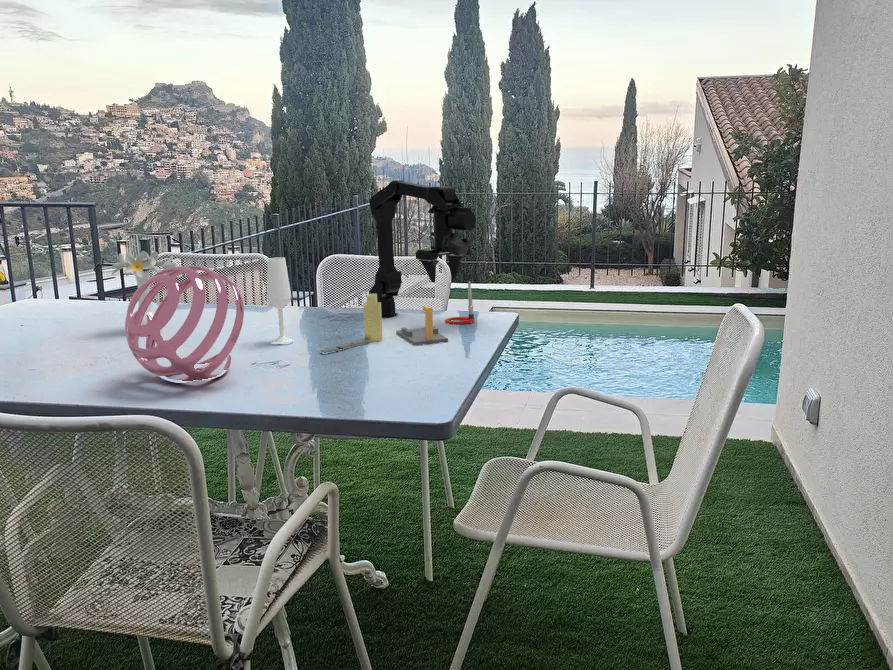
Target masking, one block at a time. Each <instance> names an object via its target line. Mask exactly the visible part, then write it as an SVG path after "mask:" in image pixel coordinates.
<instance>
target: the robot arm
mask: <svg viewBox="0 0 893 670" xmlns="http://www.w3.org/2000/svg"><path fill="white" fill-rule="evenodd" d="M403 196H406V197H411V198H417V199H422V200H424V201H425V202H426V203H427V204H430V205H432V207H431V208H430V209H429V210H428V211H427V213H428V214H433V231H432V232H430V236H431V237H433V245H431V246H430V248H420V249H417V250H416V251H415V260H418V262H420V263H421V265H422V266H423V267H424V269H425V271H426V274H427V275H428V277H429V279H430V281H431V283H436V279H437V277H436V275H437V274H436V273H437V272H436V271H437V265H438V263H439V261H440V260H438V259H439V257H442V256H447V258H448V264H449V269H450V275H451V279H456V278H457V275H458V272H459V269H460V266H461V263H462V262H463V261H464V260H465V259H466V258H468V255H469V256H470V255H471V249H472V247H471V246H472V239H471V238H470V237H464V238H457V233H456V232H455V231H467V232H468V231H469V232H470V231H473V230H474V228H475V226H476V223H477V219H476V216H475V213H474V212H473V211H472V207H471V206H467V207H466V206H464V205H462V203H461V201H460V199H459V197H458V195H457V193H456V190H455V189H454V187H453V186H450V185H449V186H448V185H447V186H445V185H444V186H429V185H423V184H418V183H413V182H410V181H409V182H408V181H405V180H401V179H398V180H392V181H390V182H389V183H388V184H387V185H386V186H384V187H383V188H382V189H380V190H379V191H377V193H375V194H373V195H372V196H371V198H370V199H369V208H370V214H371V216H372V217H373V219H374V221H375V222H376V234H377V235H376V236H377V253H378V269H377V271H376V273H375V276H374V285H372V287H371V288H370V290H369V291H368V294H377V302H381V314H382V318H384V319H385V317H387V318H390V317H393V316H392V315H394V316H396V315H395V314H399V313H398V312H396V302H395V297H398V296H399V291H400V290H401V287H402V284H403V280H402V272H401V270H397V268H396V266H395V257H394V252H395V251H394V236H393V235H394V234H393V233H394V232H393V221H394V220H393V219H394V218H395V216H396V213H397V205H398V204H399V203H400V202H401V201H402V199H403ZM389 316H390V317H389Z"/></svg>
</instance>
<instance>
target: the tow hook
mask: <svg viewBox="0 0 893 670" xmlns="http://www.w3.org/2000/svg"><path fill="white" fill-rule="evenodd" d="M471 285H472V284H471V281H467V300H468V316H453V317H448V318H445V319H444V323H445V322H446V323H449V324H448V325H453V324H457V325H465V324H470V325H472V324H471V323H473V324H474V321H475V315H474V304H473V293H472V291H473V290H472V286H471ZM451 320H453V321H451ZM446 323H445V324H446Z"/></svg>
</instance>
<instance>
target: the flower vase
mask: <svg viewBox="0 0 893 670" xmlns="http://www.w3.org/2000/svg"><path fill="white" fill-rule="evenodd" d="M124 255H125V256H124ZM158 258H159V252H157V251H153V252H152V253H151V254H150V255H149V254H148V252H146V251H145V250H141V252H140V253H139V254H137V256H136V257H134V256H133V254H132V252H130V251H127V252H126V254H124V252H123V253H121V252H120V253H119V254H118V256H117V261H118V262H115V263H114V264H113V265H112V266H111V269H114V270H113V271H112V272H111V276H113V275H115V274H116V273H117V272H118V271H120V270H121V269H124V274H125V276H126V277H129V276H130V275H131V274H133V275H134V277H135V279H136V284H137V285H136V286H137V289H138V288H139V287H140V286H141V285H142V284H143V283H144V282H145V281H147V280H148V279H149V274H150V271H149V270H152V271H153V272H156V273H158V272H160V271H162V270H164V269H167V268H170V267H176V266H177V265H176V263H175V262H172V261H173V259H174V254H171V255H170V256H169V258H168V259H167V260H166V261H165V262H163V261H162V260H157V259H158ZM160 267H161V268H162V269H161V268H160ZM171 272H172V271H171ZM171 272H168V273H165V275H168V274H169V273H171ZM149 291H150V288H149V286H148V287H147V289H146V290H145V291H144V292H143V294H142V295H141V297H140V298H139V300H138V304H137V305H138V306H137V309H136V311H138V309H139V307H140V305H141V303H142V301H143V300H144V298H145V297H146V295H147V294H148V293H149ZM156 310H157V309H155V307H154V306H153V303H152V302H151V303H150V305H149V307H148V308H147V310H146V312H145V315H144V317H143V320H142V323H141V325H146V324H147V316H146V313H147V312H148V313H149V314H150V316H151V318H153V316H154V314H155V312H156Z"/></svg>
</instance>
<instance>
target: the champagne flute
mask: <svg viewBox="0 0 893 670" xmlns="http://www.w3.org/2000/svg"><path fill="white" fill-rule="evenodd" d="M289 280H290V278H289V273H288V266H287V262H286V257H282V256H280V257H279V256H278V257H269V258H267V279H266V281H267V282H266V283H267V284H266V285H267V286H266V287H267V288H266V299H267V301H268V303H269V304H270V305H271V306H272V307H273V308H275V309H276V310H277V314H278V327H279V336H278V337H277V338H276V339H274V340H273V341H275V342H281V343H284V342H290V341H292V340H293V339H291V338H290V337H287V336H285V330H284V329H285V328H284V327H285V326H284V316H283V315H284V314H283V309H285V308H286V306H288V304H289V303H290V302H291V300H292V292H291V285H290V281H289Z"/></svg>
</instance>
